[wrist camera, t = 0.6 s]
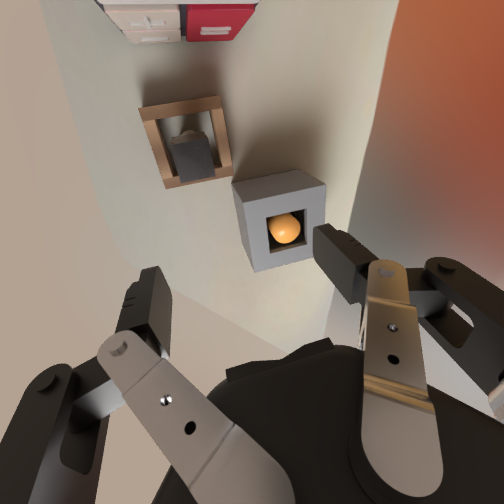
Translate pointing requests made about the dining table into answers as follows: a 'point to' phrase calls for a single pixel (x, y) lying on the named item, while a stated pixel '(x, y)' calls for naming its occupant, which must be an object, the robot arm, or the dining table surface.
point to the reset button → (283, 227)
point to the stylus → (192, 156)
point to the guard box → (275, 203)
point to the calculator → (178, 19)
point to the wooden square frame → (182, 108)
